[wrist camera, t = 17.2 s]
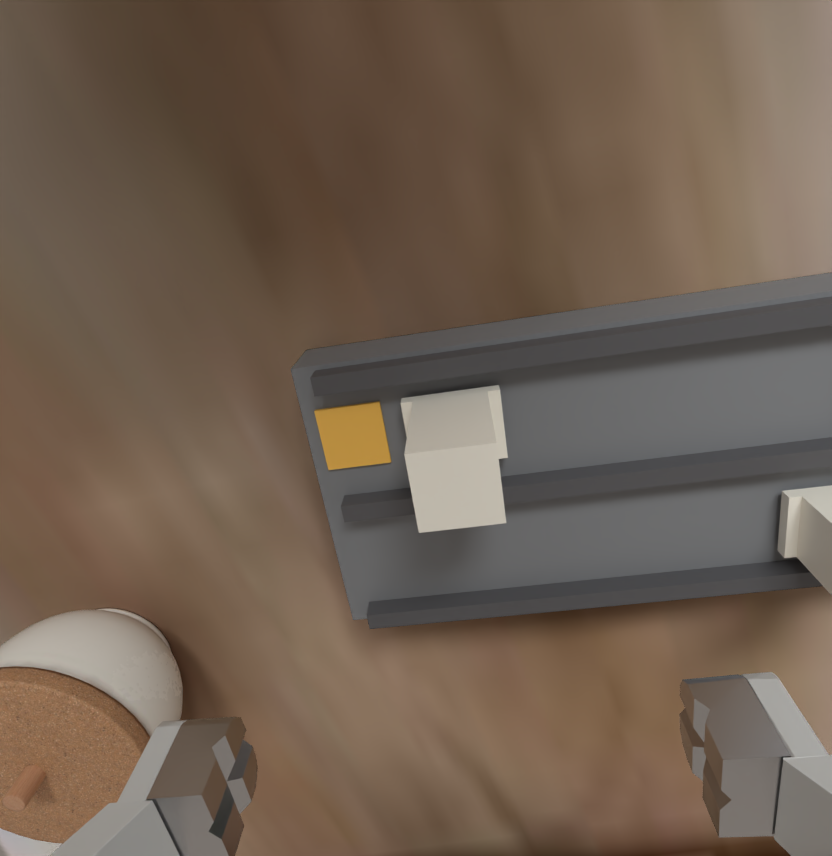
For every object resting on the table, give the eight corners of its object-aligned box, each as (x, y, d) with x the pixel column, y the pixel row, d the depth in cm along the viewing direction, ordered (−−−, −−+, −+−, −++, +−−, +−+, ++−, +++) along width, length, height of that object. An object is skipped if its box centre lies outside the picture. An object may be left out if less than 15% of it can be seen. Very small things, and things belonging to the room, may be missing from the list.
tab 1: (401, 398, 25) (388, 456, 20) (498, 384, 24) (512, 440, 19) (413, 463, 26) (404, 534, 21) (506, 451, 25) (521, 521, 20)
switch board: (306, 349, 28) (284, 376, 24) (968, 252, 25) (1060, 265, 21) (361, 582, 32) (349, 634, 29) (920, 524, 29) (988, 574, 26)
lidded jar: (108, 540, 32) (-16, 673, 24) (249, 665, 35) (183, 825, 27) (-8, 634, 35) (-157, 782, 27) (130, 742, 38) (37, 908, 30)
